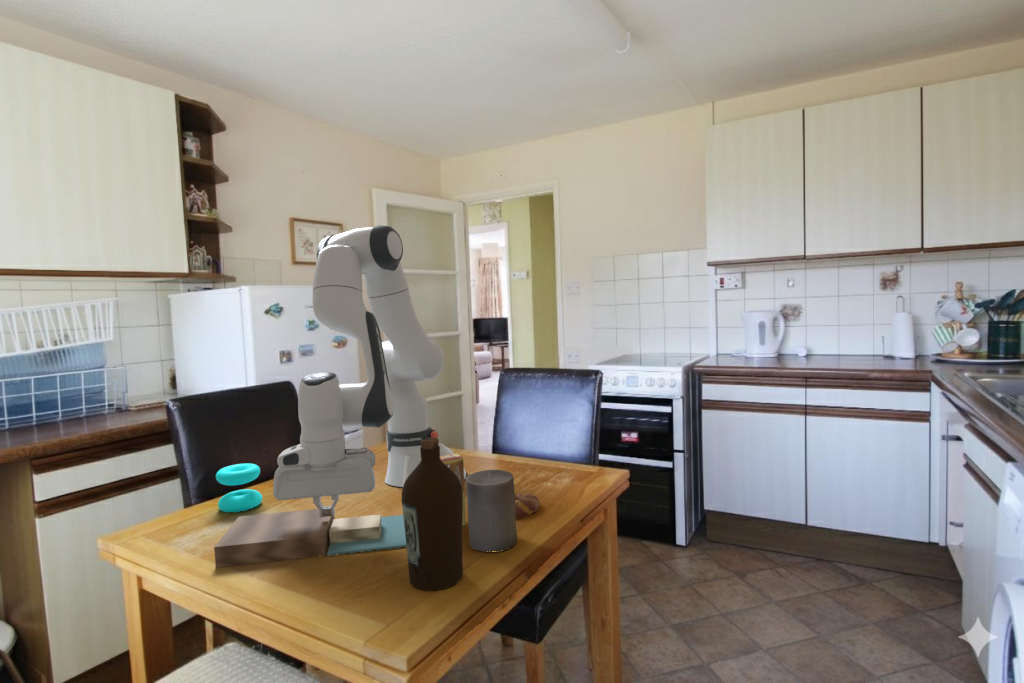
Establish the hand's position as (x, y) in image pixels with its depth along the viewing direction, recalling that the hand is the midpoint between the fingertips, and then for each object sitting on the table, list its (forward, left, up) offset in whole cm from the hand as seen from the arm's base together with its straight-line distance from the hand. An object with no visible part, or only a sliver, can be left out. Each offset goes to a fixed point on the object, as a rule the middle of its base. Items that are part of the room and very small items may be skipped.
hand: (327, 515), depth 119 cm
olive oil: (-21, +23, -5) cm, 32 cm away
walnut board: (+10, 0, -5) cm, 11 cm away
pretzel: (-41, -5, -6) cm, 42 cm away
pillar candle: (-33, +11, -5) cm, 35 cm away
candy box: (-24, 0, -5) cm, 25 cm away
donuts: (+25, -27, -5) cm, 37 cm away
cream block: (-6, 0, -4) cm, 7 cm away
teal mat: (-9, 0, -5) cm, 10 cm away
